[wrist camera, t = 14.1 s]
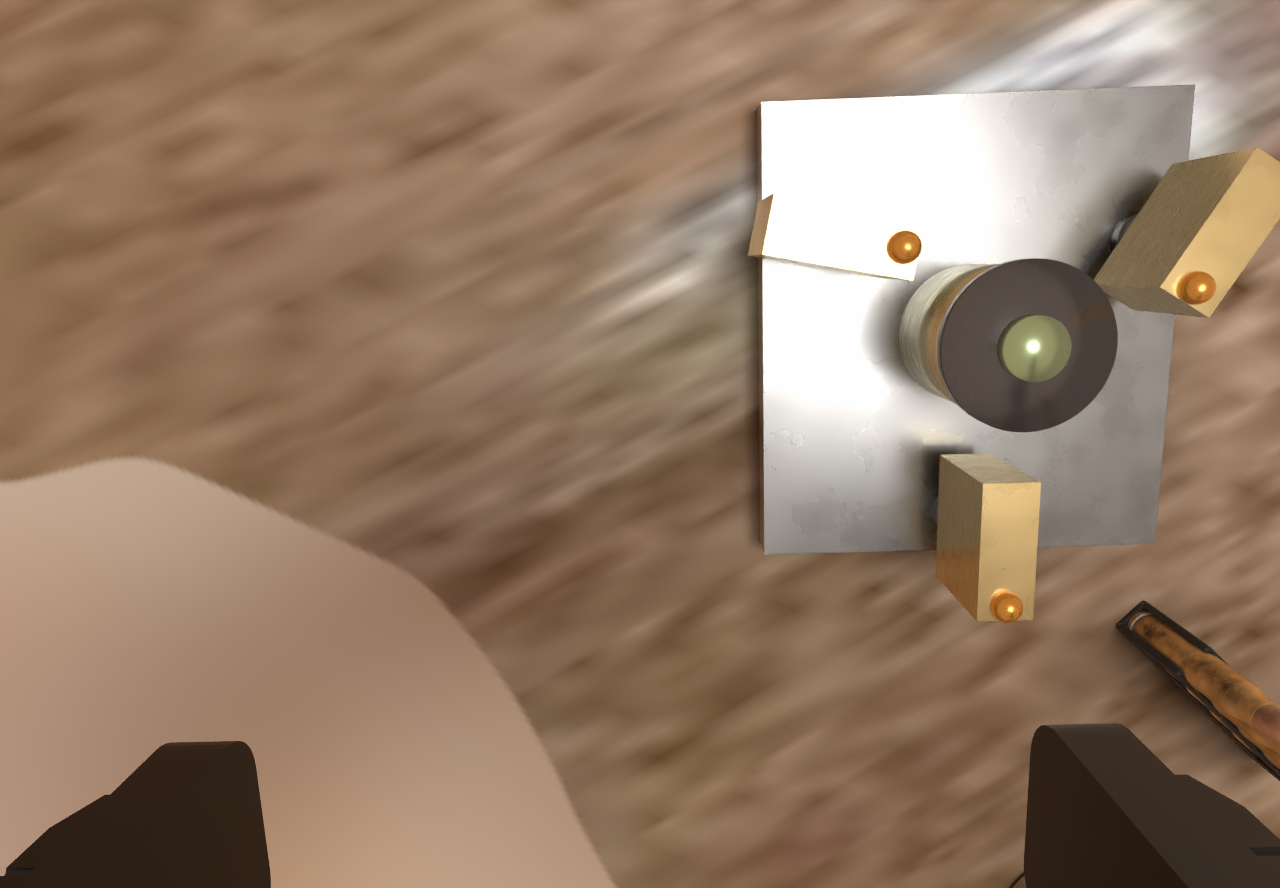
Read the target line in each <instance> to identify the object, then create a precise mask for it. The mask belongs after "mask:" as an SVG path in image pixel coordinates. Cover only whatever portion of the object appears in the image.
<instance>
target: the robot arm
mask: <svg viewBox="0 0 1280 888" xmlns="http://www.w3.org/2000/svg"><path fill="white" fill-rule="evenodd" d="M1024 874H1025V875H1024V876H1023V877H1022V878H1021V879H1020V880H1019V881H1018V882H1017V883H1016V884H1015V885H1014V887H1013V888H1280V839H1278V838H1277V837H1276V836H1275V835H1274V834H1273V833H1272V832H1271V831H1270V830H1269V829H1268V828H1267V827H1266V826H1264V825H1263V824H1262V823H1261V822H1260V821H1259V820H1258V819H1257V818H1256V817H1255V816H1254V815H1253V814H1251V813H1250V812H1249V811H1248V810H1247V809H1246V808H1245V807H1243V806H1242V805H1240V804H1238V803H1236V802H1235V801H1233V800H1231V799H1229V798H1228V797H1226V796H1224V795H1222V794H1220V793H1219V792H1217V791H1215V790H1213V789H1212V788H1210V787H1208V786H1206V785H1204V784H1203V783H1201V782H1199V781H1197V780H1196V779H1194V778H1192V777H1190V776H1189V775H1174V774H1173V773H1172V772H1171V771H1170V770H1169V769H1168V768H1167V767H1166V766H1165V765H1164V764H1163V763H1162V762H1161V761H1160V760H1159V759H1158V758H1157V757H1156V756H1155V755H1154V754H1153V753H1152V752H1151V751H1150V750H1149V749H1148V748H1147V747H1146V746H1145V745H1144V744H1143V743H1142V742H1141V741H1140V740H1139V739H1138V738H1137V737H1136V736H1135V735H1134V734H1133V733H1132V732H1131V731H1130V730H1128V729H1127V728H1126V727H1125V726H1123V725H1121V724H1074V725H1043V726H1040V727H1039V728H1038V729H1037V730H1036V732H1035V734H1034V736H1033V740H1032V744H1031V754H1030V771H1029V787H1028V804H1027V820H1026V836H1025V853H1024ZM270 878H271V877H270V867H269V860H268V852H267V845H266V838H265V830H264V823H263V816H262V808H261V802H260V794H259V787H258V779H257V771H256V765H255V760H254V756H253V753H252V751H251V749H250V748H249V746H248V745H247V744H246V743H244V742H241V741H225V742H224V741H222V742H178V743H167V744H164V745H162V746H161V747H159V748H158V749H157V750H156V751H155V752H154V753H153V754H152V755H151V756H150V757H149V758H148V759H147V760H146V761H145V762H144V763H142V764H141V766H139V767H138V769H136V770H135V771H134V772H133V773H132V774H131V775H130V776H129V777H128V778H127V779H126V780H125V781H124V782H123V783H122V784H121V785H120V786H119V787H118V788H117V789H116V790H115V791H114V792H113V793H112V794H111V795H104V796H102V797H101V798H99V799H98V800H96V801H94V802H92V803H91V804H89V805H87V806H86V807H84V808H82V809H81V810H79V811H77V812H76V813H74V814H72V815H71V816H69V817H68V818H66V819H64V820H62V821H60V822H59V823H57V824H55V825H54V826H52V827H50V828H49V829H48V830H47V831H46V832H45V833H43V834H42V836H40V837H39V838H38V839H37V840H36V841H35V842H34V843H33V844H32V845H31V846H30V847H28V848H27V849H26V850H25V851H24V852H23V853H22V854H21V855H20V856H19V857H18V858H17V859H16V860H14V862H12V863H11V864H10V865H9V866H8V867H7V868H6V874H5V876H0V888H270V887H271V879H270Z"/></svg>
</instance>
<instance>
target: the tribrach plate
mask: <svg viewBox="0 0 1280 888" xmlns="http://www.w3.org/2000/svg"><path fill="white" fill-rule="evenodd" d="M1194 90H1195V85H1173V86H1148V87H1123V88H1098V89H1073V90H1048V91H1023V92H998V93H974V94H949V95H924V96H899V97H874V98H849V99H824V100H799V101H774V102H761V104H760V105H759V107H758V108H757V110H756V150H757V204H758V202H759V201H761V200H763V199H764V198H766V197H768V196H769V195H771V194H773V193H779V194H785V195H791V196H796V197H802V198H808V199H814V200H819V201H825V202H831V203H836V204H842V205H848V206H854V207H859V208H865V209H871V210H877V211H882V212H888V213H894V214H899V215H905V216H911V217H917V218H922V219H927V221H926V226H925V230H924V235H923V239H922V250H921V253H920V255H919V256H918V261H917V265H916V269H915V274H914V278H913V280H898V279H883V278H874V277H868V276H863V275H857V274H851V273H845V272H840V271H834V270H828V269H822V268H817V267H807V266H804V265H799V264H794V263H788V262H782V261H776V260H770V259H765V258H759V257H757V280H758V411H759V541H760V544H761V547H762V549H763V552H764V554H799V553H835V552H872V551H909V550H937V525H936V524H935V523H934V522H933V520H932V518H931V515H930V503H931V500H932V498H933V496H934V495H935V494H936V493H937V492H938V491H939V467H940V455H950V454H983V453H991V454H992V455H994V456H996V457H998V458H999V459H1001V460H1003V461H1005V462H1006V463H1008V464H1010V465H1012V466H1013V467H1015V468H1017V469H1019V470H1020V471H1022V472H1024V473H1026V474H1028V475H1029V476H1031V477H1033V478H1035V479H1036V480H1038V481H1040V482H1041V493H1040V509H1039V526H1038V543H1037V547H1055V546H1092V545H1129V544H1155V536H1156V524H1157V513H1158V501H1159V490H1160V479H1161V467H1162V456H1163V444H1164V433H1165V421H1166V410H1167V399H1168V387H1169V376H1170V364H1171V353H1172V342H1173V330H1174V319H1175V314H1166V313H1156V312H1146V311H1136V310H1132V309H1130V308H1129V307H1127V306H1126V305H1124V304H1122V303H1121V302H1119V301H1118V300H1116V299H1114V298H1113V297H1111V296H1110V295H1108V294H1106V293H1105V292H1103V290H1102V289H1101V288H1100V287H1099V285H1098V284H1097V283H1096V282H1095V281H1094V278H1095V277H1096V275H1097V274H1098V272H1099V271H1100V269H1101V268H1102V266H1103V265H1104V264H1105V262H1106V261H1107V259H1108V258H1109V256H1110V255H1111V253H1112V252H1113V250H1112V247H1111V237H1112V233H1113V231H1114V229H1115V227H1116V225H1117V224H1118V223H1119V222H1120V221H1121V220H1122V219H1123V218H1125V217H1126V216H1128V215H1130V214H1134V213H1139V212H1140V210H1141V209H1142V208H1143V206H1144V205H1145V203H1146V202H1147V200H1148V199H1149V197H1150V196H1151V194H1152V193H1153V191H1154V190H1155V188H1156V187H1157V185H1158V184H1159V183H1160V181H1161V180H1162V178H1163V177H1164V175H1165V174H1166V172H1167V171H1168V169H1169V168H1170V166H1171V165H1172V164H1174V163H1180V162H1185V161H1188V159H1189V148H1190V136H1191V125H1192V113H1193V102H1194Z"/></svg>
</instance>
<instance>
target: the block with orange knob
mask: <svg viewBox="0 0 1280 888" xmlns="http://www.w3.org/2000/svg"><path fill="white" fill-rule="evenodd" d="M1040 493H1041V482H1040V481H1038V480H1036V479H1035V478H1033V477H1031V476H1029V475H1028V474H1026V473H1024V472H1022V471H1020V470H1019V469H1017V468H1015V467H1013V466H1012V465H1010V464H1008V463H1006V462H1005V461H1003V460H1001V459H999V458H998V457H996V456H994V455H992V454H991V453H983V454H950V455H940V467H939V491H938V492H937V493H936V494H935V495H934V496H933V498H932V500H931V503H930V515H931V518H932V520H933V522H934V523H935V524H936V525H937V552H936V576H937V577H938V578H939V580H940V581H941V582H942V583H943V584H944V585H945V586H946V587H947V588H948V590H949V591H950V592H951V593H952V594H953V595H954V596H955V597H956V599H957V600H958V601H959V602H960V603H961V604H962V605H963V606H964V607H965V609H966V610H967V611H968V612H969V613H970V614H971V615H972V616H973V618H974V619H975V620H976V621H1001V622H1005V623H1011V622H1014V621H1016V620H1033V611H1034V594H1035V577H1036V560H1037V543H1038V526H1039V509H1040Z"/></svg>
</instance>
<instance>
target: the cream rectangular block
mask: <svg viewBox="0 0 1280 888" xmlns="http://www.w3.org/2000/svg"><path fill="white" fill-rule="evenodd" d="M926 221H927V219H922V218H917V217H911V216H905V215H899V214H894V213H888V212H882V211H877V210H871V209H865V208H859V207H854V206H848V205H842V204H836V203H831V202H825V201H819V200H814V199H808V198H802V197H796V196H791V195H785V194H779V193H773V194H771V195H769V196H768V197H766V198H764V199H763V200H761V201H759V202H758V204H757V210H756V215H755V220H754V225H753V231H752V236H751V241H750V246H749V252H748V256H753V257H759V258H765V259H770V260H776V261H782V262H788V263H794V264H799V265H804V266H807V267H817V268H822V269H828V270H834V271H840V272H845V273H851V274H857V275H863V276H868V277H874V278H883V279H898V280H913V278H914V274H915V269H916V265H917V261H918V256H919V255H920V253H921V250H922V239H923V235H924V230H925V226H926Z"/></svg>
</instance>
